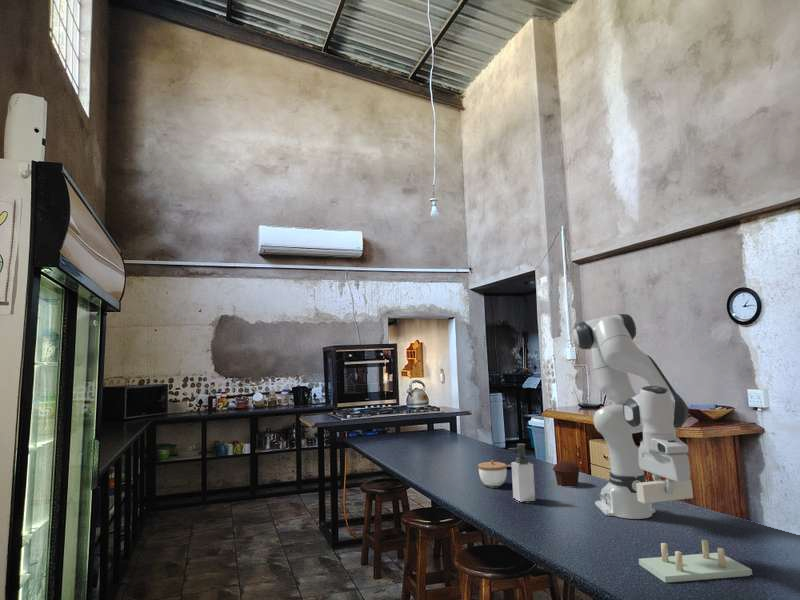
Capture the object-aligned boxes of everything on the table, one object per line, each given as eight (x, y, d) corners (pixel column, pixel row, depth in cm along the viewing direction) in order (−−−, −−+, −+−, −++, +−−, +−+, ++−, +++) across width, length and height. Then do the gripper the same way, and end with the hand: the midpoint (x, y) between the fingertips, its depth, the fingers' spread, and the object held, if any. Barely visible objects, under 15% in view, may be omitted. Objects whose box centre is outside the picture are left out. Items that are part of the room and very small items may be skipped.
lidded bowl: (510, 488, 231) (508, 462, 232) (481, 489, 231) (479, 463, 232) (504, 481, 244) (503, 457, 245) (477, 482, 244) (476, 457, 245)
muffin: (579, 481, 239) (577, 459, 241) (583, 487, 229) (581, 464, 230) (552, 481, 241) (550, 459, 243) (554, 487, 231) (553, 463, 232)
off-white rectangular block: (644, 503, 149) (642, 485, 150) (637, 500, 152) (636, 483, 153) (693, 497, 153) (691, 480, 153) (685, 495, 156) (683, 478, 156)
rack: (665, 582, 134) (663, 558, 135) (639, 564, 146) (637, 541, 147) (752, 575, 137) (750, 551, 137) (719, 558, 149) (717, 535, 149)
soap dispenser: (507, 499, 214) (505, 443, 217) (528, 497, 216) (525, 442, 218) (514, 503, 208) (511, 446, 210) (535, 501, 210) (532, 444, 212)
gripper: (631, 438, 164) (635, 484, 163) (670, 448, 144) (675, 501, 143) (650, 437, 165) (654, 483, 163) (692, 447, 145) (697, 499, 143)
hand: (664, 491), depth 153 cm, fingers closed on off-white rectangular block, 3 cm apart
